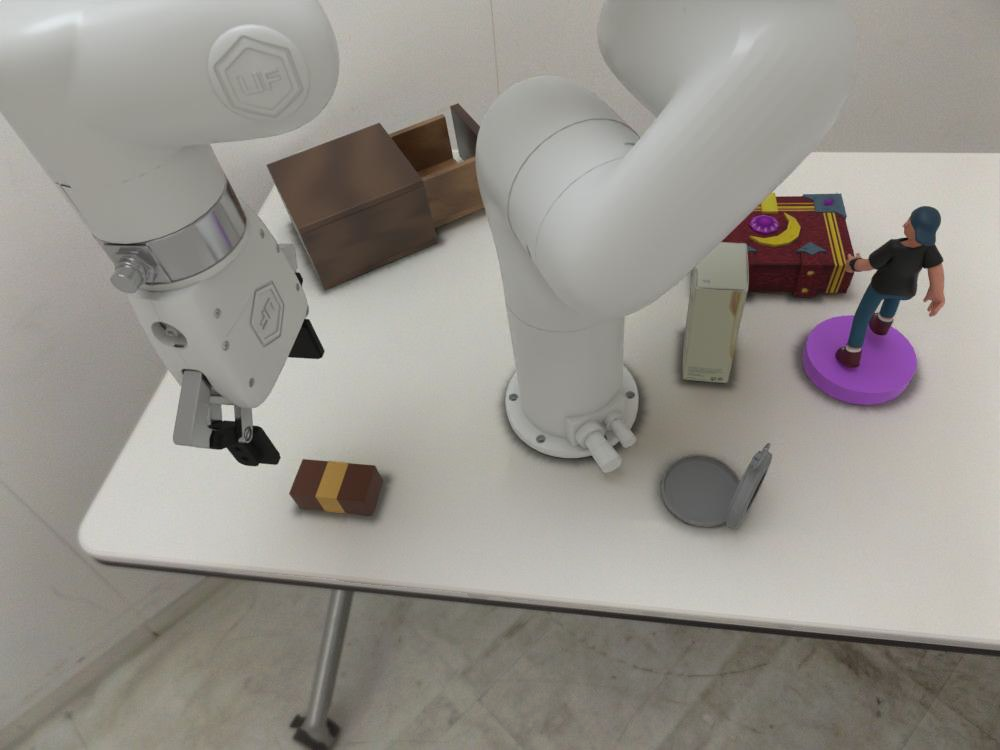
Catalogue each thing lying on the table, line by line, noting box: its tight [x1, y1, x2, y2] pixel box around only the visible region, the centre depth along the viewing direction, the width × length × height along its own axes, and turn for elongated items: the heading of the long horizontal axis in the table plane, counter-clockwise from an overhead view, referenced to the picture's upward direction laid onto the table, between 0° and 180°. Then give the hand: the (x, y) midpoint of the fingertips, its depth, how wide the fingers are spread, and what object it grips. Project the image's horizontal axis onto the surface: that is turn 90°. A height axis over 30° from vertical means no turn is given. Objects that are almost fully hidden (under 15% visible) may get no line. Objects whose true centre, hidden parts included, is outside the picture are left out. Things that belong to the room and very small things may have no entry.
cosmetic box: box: [682, 242, 749, 384], centre depth 63 cm, size 6×4×12 cm
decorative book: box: [690, 192, 856, 298], centre depth 73 cm, size 11×16×5 cm
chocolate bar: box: [288, 458, 384, 517], centre depth 62 cm, size 4×7×3 cm, turn 80°
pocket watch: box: [660, 442, 773, 529], centre depth 54 cm, size 8×8×10 cm
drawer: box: [388, 102, 485, 229], centre depth 85 cm, size 18×13×7 cm
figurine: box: [801, 205, 946, 406], centre depth 58 cm, size 9×9×18 cm
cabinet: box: [266, 122, 439, 291], centre depth 82 cm, size 15×14×9 cm
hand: (284, 404), depth 52 cm, fingers open, 9 cm apart
